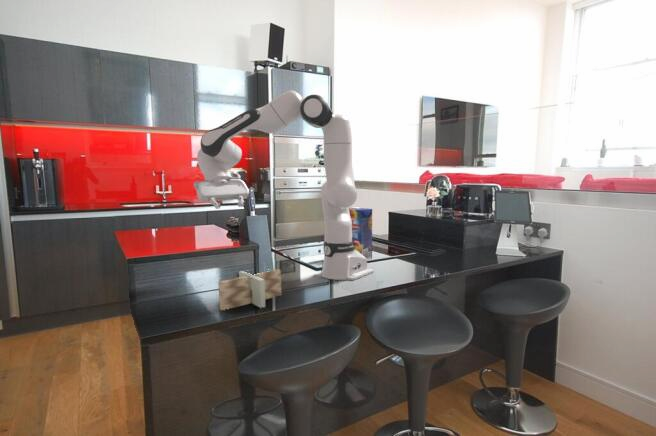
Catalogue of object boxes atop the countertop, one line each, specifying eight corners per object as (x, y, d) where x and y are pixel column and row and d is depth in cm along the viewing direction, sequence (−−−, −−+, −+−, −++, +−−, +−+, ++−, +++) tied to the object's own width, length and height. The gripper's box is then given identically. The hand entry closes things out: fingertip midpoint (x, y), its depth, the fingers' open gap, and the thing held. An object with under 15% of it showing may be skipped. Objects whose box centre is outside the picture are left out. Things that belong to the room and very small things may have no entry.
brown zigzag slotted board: (278, 293, 135) (278, 269, 134) (281, 295, 134) (280, 269, 133) (220, 309, 121) (218, 281, 120) (222, 310, 120) (220, 282, 119)
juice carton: (372, 258, 185) (372, 208, 182) (361, 261, 180) (361, 210, 177) (354, 254, 194) (354, 207, 190) (343, 256, 189) (343, 208, 186)
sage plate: (244, 296, 133) (243, 270, 132) (265, 306, 123) (264, 279, 122) (240, 297, 132) (238, 271, 131) (261, 308, 122) (260, 280, 121)
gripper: (193, 175, 144) (205, 203, 138) (243, 174, 157) (256, 199, 151) (190, 187, 148) (201, 214, 142) (238, 184, 161) (250, 210, 155)
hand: (230, 206), depth 147 cm, fingers open, 8 cm apart
